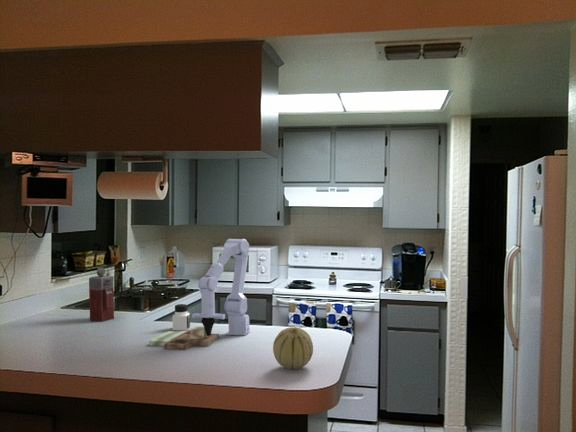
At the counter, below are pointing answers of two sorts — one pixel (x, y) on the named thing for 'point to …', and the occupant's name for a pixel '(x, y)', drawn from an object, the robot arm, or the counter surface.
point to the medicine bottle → (181, 318)
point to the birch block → (198, 333)
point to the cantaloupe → (293, 348)
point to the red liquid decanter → (101, 297)
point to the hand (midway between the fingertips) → (208, 335)
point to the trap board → (181, 340)
